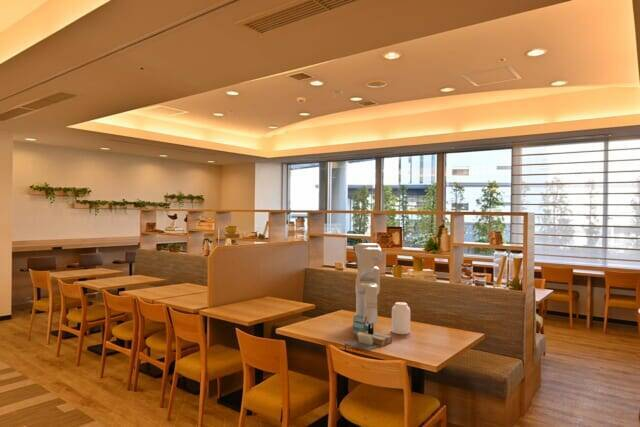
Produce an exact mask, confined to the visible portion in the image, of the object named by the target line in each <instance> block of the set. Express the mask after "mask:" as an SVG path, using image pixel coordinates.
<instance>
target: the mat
mask: <svg viewBox="0 0 640 427" xmlns="http://www.w3.org/2000/svg"><path fill="white" fill-rule="evenodd" d="M344 345H346V346H350V347H354V348H357V349H362V350H364V351H371V350H374V349H377V348H379V347H381V346H380V345H376V344H372V345H368V344H364V343H360V342H359V340H355V339H354V340H351V341H348V342H345V343H344Z"/></svg>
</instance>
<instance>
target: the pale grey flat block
mask: <svg viewBox="0 0 640 427" xmlns="http://www.w3.org/2000/svg"><path fill="white" fill-rule="evenodd" d="M357 336H358V340H359V342H360V343H364V344H368V345H372V344H373V340H372V336H371V335H370V334H366V333H362V332H359V333H358V334H357Z"/></svg>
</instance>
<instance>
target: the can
mask: <svg viewBox="0 0 640 427" xmlns="http://www.w3.org/2000/svg"><path fill="white" fill-rule="evenodd" d="M390 329H391V332H392V333H393V334H397V335H408V334H410V333H411V308H410V306H408V303H407V302H405V301H397V302H395V303H394V305H393V306H392V308H391V328H390Z"/></svg>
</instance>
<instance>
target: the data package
mask: <svg viewBox="0 0 640 427" xmlns="http://www.w3.org/2000/svg"><path fill="white" fill-rule="evenodd" d="M352 322H353V326H352V328H353V331H352V332H353V334H355V333H358V332H361V331H364V330H368V328H367V326H365V323H363V315H356V314H355V315H354V316H353V321H352Z"/></svg>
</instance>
